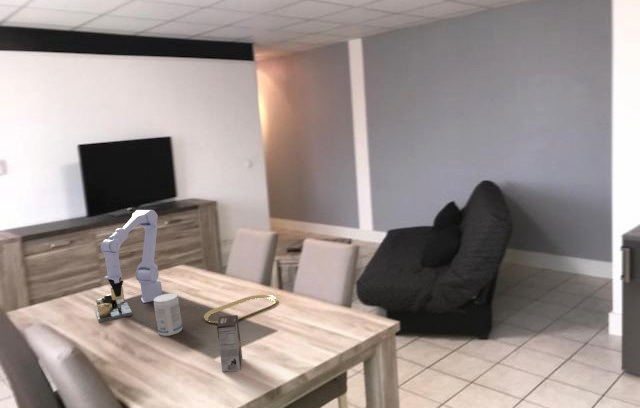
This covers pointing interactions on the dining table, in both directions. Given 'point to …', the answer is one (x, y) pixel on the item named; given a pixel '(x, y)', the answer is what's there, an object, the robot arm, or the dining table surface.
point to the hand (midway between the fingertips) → (117, 294)
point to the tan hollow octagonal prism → (118, 296)
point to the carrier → (112, 311)
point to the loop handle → (238, 303)
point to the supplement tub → (168, 314)
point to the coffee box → (229, 343)
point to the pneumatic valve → (109, 300)
